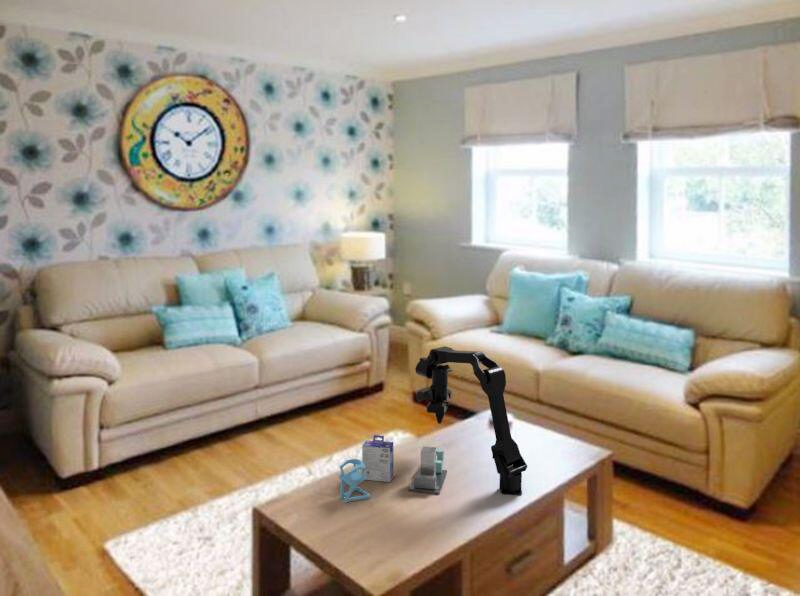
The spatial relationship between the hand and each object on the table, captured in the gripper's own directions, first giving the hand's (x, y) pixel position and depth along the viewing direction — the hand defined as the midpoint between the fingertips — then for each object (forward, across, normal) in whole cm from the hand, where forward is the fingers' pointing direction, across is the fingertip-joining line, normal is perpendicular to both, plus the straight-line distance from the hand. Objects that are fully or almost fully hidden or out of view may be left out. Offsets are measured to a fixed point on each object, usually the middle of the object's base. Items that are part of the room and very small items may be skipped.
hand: (439, 423), depth 235 cm
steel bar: (+11, +21, 0) cm, 24 cm away
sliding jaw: (+11, +11, 0) cm, 16 cm away
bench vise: (+12, +21, 0) cm, 25 cm away
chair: (+12, +37, -22) cm, 44 cm away
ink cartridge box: (+12, +22, -17) cm, 31 cm away
